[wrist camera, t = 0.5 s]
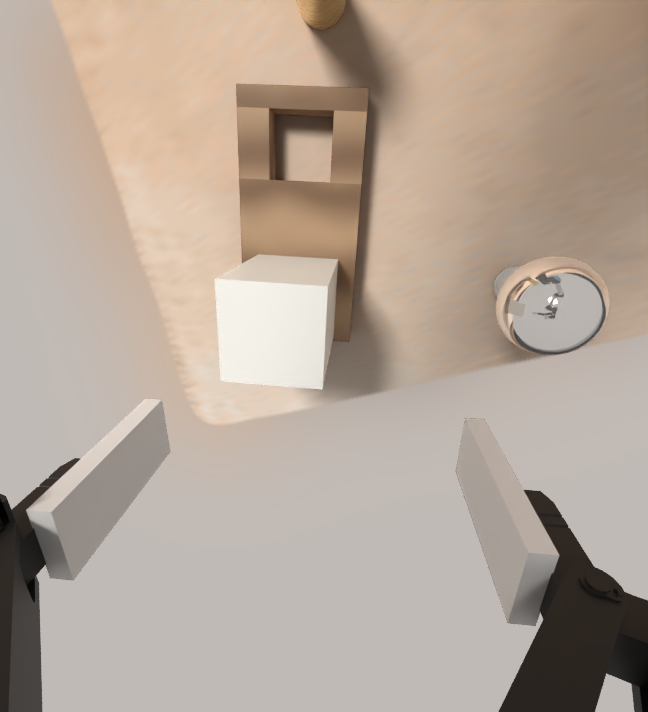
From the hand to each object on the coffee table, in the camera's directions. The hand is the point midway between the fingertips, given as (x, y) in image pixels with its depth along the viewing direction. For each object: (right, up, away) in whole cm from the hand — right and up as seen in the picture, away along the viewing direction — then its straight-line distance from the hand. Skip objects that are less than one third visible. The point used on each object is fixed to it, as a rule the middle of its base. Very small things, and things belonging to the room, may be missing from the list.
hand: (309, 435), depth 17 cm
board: (-1, +15, +18) cm, 24 cm away
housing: (-2, +9, +18) cm, 20 cm away
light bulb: (+18, +10, +19) cm, 28 cm away
